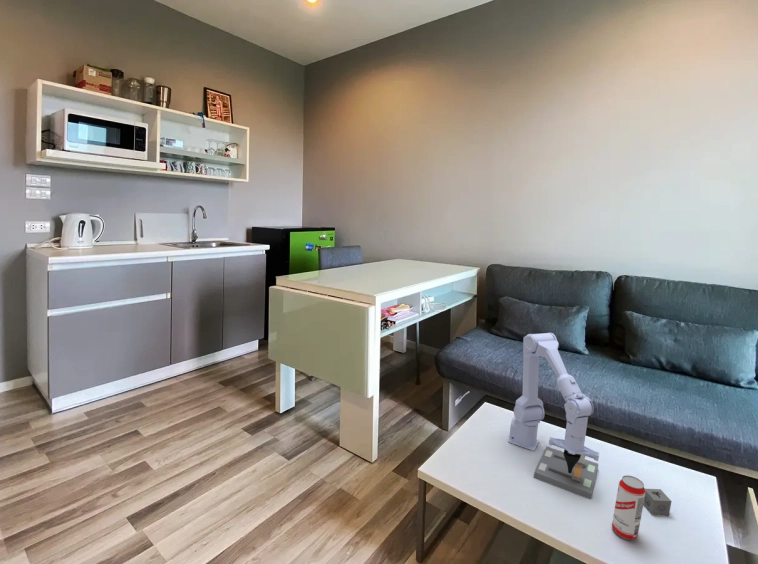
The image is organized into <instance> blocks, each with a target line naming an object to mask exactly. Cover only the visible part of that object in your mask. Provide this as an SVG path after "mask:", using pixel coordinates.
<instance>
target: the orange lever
mask: <svg viewBox="0 0 758 564" xmlns="http://www.w3.org/2000/svg"><path fill="white" fill-rule="evenodd" d="M581 472H582V466H580V465H577V464H575V468H574V472H573V474H572V479H573V480H576V481H579V482H581V481H582V476H583V475H581Z"/></svg>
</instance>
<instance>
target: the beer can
mask: <svg viewBox="0 0 758 564" xmlns="http://www.w3.org/2000/svg"><path fill="white" fill-rule="evenodd" d="M617 487H618V488H617V493H616V499H615V505H614V510H613V517H612V523H611V526H612V530H613V531H614V533H616V534H617V536H619V538H622V539H624V540H628V541H630V540H632V541H633V540H636V539H637V538H638V537H639V532H640V526H641V519H642V514H643V508H644V505H643V504H644V498H645V489H646V488H645V484H644V482H643V480H640V479H639V478H637V477H636V476H632V475H624V476H622V479H620V480H619V482H618V486H617Z"/></svg>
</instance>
